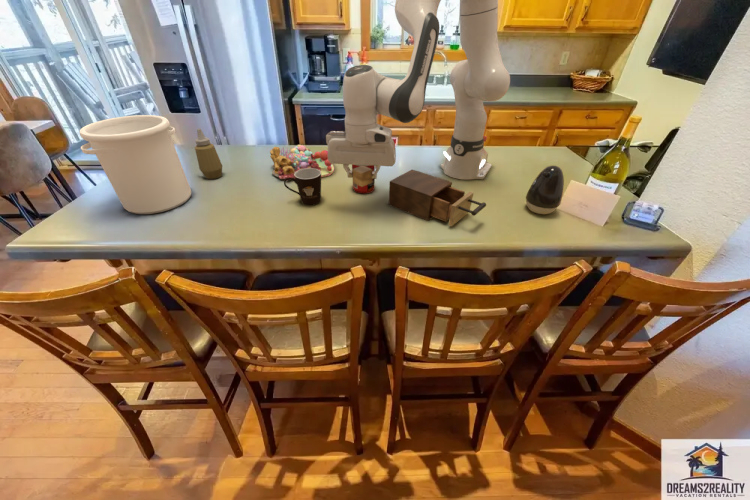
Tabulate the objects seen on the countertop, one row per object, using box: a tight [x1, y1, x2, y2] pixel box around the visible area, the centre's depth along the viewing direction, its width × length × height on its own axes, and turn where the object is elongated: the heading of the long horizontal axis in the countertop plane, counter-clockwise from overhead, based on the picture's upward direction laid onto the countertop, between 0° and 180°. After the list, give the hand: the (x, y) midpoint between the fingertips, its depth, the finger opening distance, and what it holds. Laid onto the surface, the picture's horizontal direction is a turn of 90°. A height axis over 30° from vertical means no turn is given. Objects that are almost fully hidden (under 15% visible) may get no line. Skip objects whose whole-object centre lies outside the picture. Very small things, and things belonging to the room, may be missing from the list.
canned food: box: [351, 164, 376, 195], centre depth 113 cm, size 8×8×11 cm
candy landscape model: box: [269, 144, 335, 182], centre depth 128 cm, size 25×24×9 cm
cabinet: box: [388, 169, 453, 221], centre depth 104 cm, size 16×13×9 cm
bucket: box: [79, 114, 192, 215], centre depth 101 cm, size 26×22×25 cm
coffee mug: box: [283, 168, 322, 207], centre depth 106 cm, size 12×9×10 cm
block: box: [351, 165, 372, 187], centre depth 98 cm, size 4×4×4 cm
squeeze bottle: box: [194, 128, 223, 180], centre depth 119 cm, size 8×8×18 cm
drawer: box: [430, 186, 487, 227], centre depth 99 cm, size 20×11×7 cm, turn 50°
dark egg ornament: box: [525, 165, 565, 215], centre depth 100 cm, size 10×10×15 cm
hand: (362, 177), depth 98 cm, fingers closed on block, 6 cm apart
